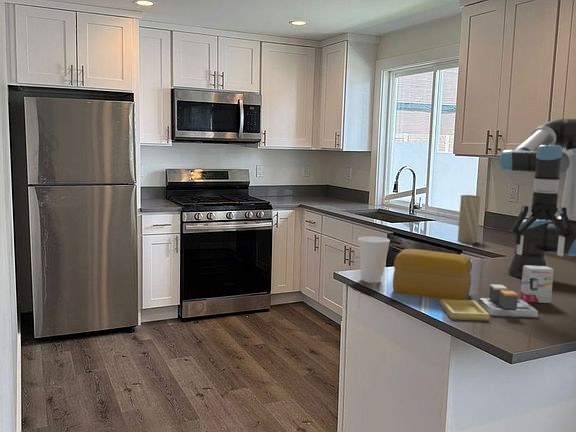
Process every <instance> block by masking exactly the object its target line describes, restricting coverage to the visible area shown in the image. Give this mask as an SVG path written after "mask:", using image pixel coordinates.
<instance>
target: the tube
mask: <svg viewBox="0 0 576 432" xmlns="http://www.w3.org/2000/svg"><path fill="white" fill-rule="evenodd" d="M480 206H481V196H480V195H473V194H472V195H471V194H463V195H462V194H461V195H460V205H459V217H458V231H457V242H458V243H459V242H460V243H465V244H477V242H478V233H479V232H478V231H479V220H480V219H479V217H480Z"/></svg>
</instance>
